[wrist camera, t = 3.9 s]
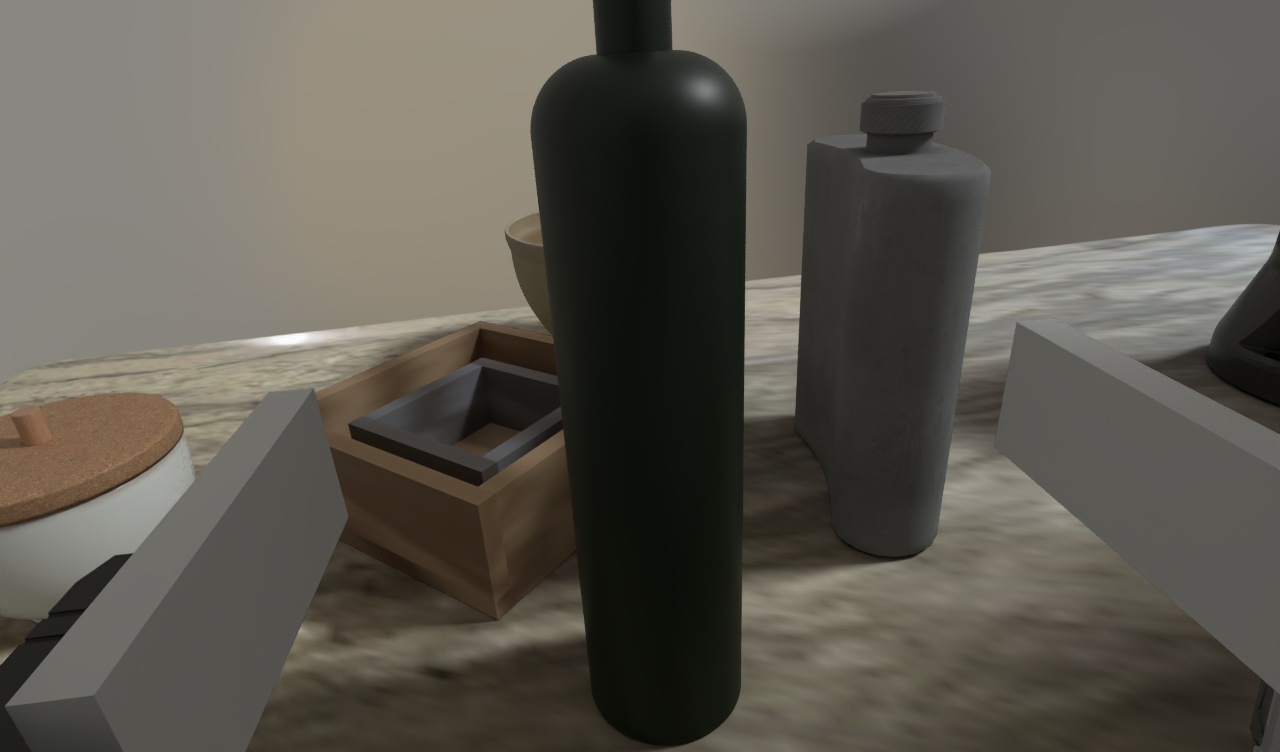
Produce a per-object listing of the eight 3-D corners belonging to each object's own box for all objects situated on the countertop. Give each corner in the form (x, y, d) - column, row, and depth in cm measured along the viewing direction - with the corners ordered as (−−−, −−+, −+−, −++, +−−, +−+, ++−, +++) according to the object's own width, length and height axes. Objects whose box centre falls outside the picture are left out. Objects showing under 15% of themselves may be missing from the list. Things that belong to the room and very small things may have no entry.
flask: (969, 558, 33) (1051, 99, 25) (843, 562, 33) (882, 108, 25) (876, 411, 46) (909, 83, 38) (788, 414, 47) (801, 89, 38)
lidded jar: (241, 498, 41) (191, 348, 37) (199, 626, 31) (125, 443, 28) (23, 542, 38) (-58, 385, 34) (-95, 696, 29) (-224, 504, 25)
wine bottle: (615, 617, 31) (538, -276, 18) (748, 636, 29) (763, -317, 17) (571, 730, 26) (423, -398, 13) (729, 760, 24) (731, -471, 12)
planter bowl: (495, 341, 62) (477, 217, 57) (655, 304, 69) (649, 191, 64) (569, 411, 49) (553, 257, 44) (757, 357, 56) (759, 219, 51)
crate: (492, 399, 51) (480, 321, 49) (683, 453, 43) (680, 363, 40) (287, 513, 39) (258, 417, 37) (498, 620, 31) (477, 505, 28)
